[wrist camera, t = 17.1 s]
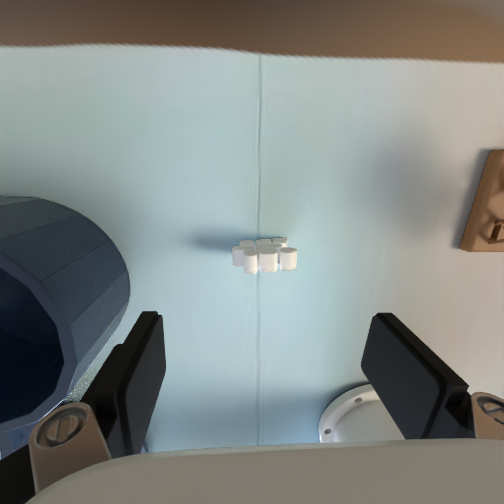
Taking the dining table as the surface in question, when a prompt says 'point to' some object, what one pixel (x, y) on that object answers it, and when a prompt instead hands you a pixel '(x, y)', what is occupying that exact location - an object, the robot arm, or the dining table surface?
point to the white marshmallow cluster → (264, 255)
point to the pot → (51, 306)
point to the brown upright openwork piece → (487, 209)
